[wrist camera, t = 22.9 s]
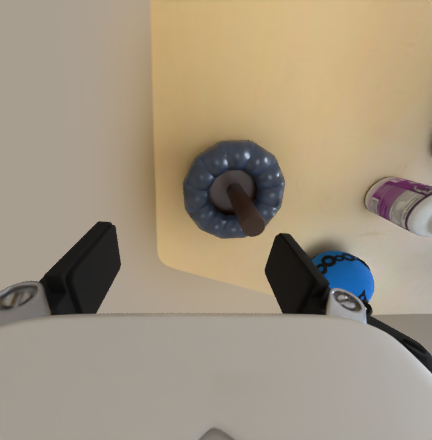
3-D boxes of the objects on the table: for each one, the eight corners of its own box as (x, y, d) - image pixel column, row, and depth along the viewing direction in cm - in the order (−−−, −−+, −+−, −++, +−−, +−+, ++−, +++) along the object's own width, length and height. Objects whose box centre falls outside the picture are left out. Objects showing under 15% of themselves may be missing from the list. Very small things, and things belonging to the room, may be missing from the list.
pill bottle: (409, 181, 25) (515, 210, 17) (384, 214, 28) (466, 255, 19) (379, 171, 24) (475, 196, 16) (355, 206, 27) (428, 245, 18)
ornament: (337, 229, 28) (400, 277, 20) (351, 264, 32) (409, 317, 23) (287, 256, 30) (324, 311, 21) (305, 286, 34) (343, 344, 25)
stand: (191, 198, 24) (186, 242, 15) (224, 142, 21) (242, 155, 12) (240, 224, 27) (261, 276, 18) (275, 177, 24) (322, 209, 15)
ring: (169, 208, 23) (165, 219, 21) (214, 117, 19) (216, 116, 16) (244, 242, 27) (249, 255, 24) (296, 171, 22) (310, 177, 20)
